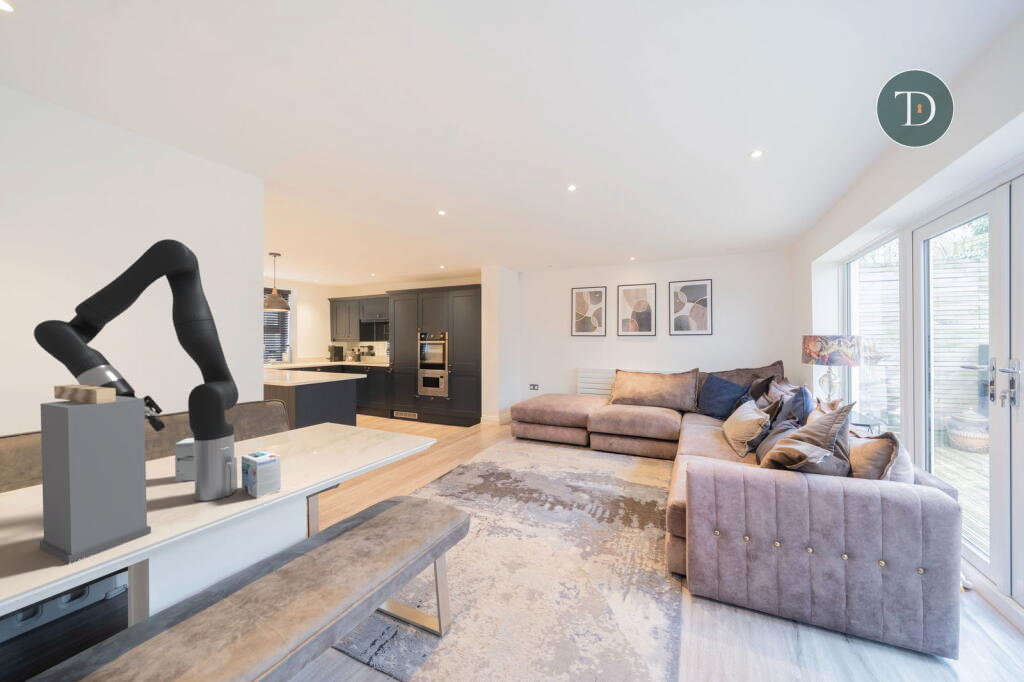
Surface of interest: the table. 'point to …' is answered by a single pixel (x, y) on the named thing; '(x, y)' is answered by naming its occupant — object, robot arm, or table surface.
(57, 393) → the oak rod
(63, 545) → the charcoal pedestal
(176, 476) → the supplement box
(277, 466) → the light bulb box
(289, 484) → the table surface
